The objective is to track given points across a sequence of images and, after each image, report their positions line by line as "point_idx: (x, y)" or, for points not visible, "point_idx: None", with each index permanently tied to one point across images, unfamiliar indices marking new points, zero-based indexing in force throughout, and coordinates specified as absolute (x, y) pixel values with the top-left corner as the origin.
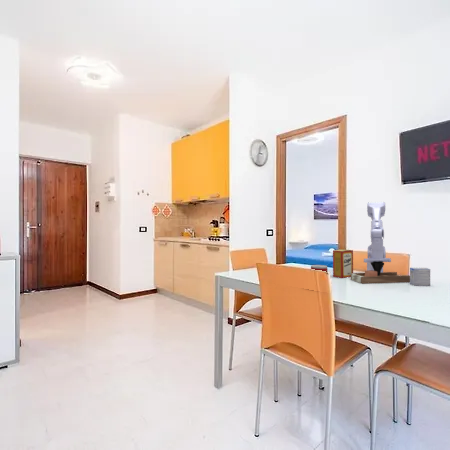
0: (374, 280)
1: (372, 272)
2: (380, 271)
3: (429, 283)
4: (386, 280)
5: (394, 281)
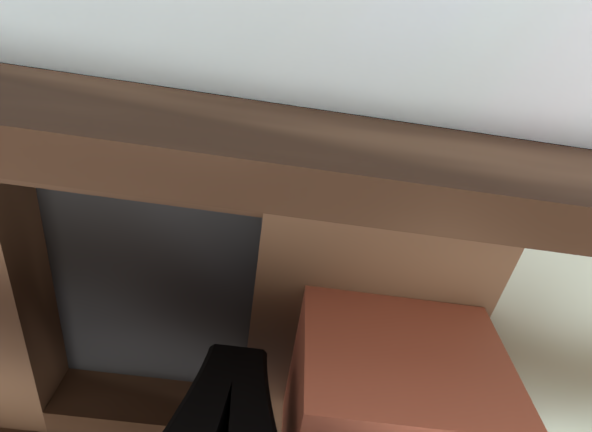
0: (508, 159)
1: (453, 408)
2: (177, 419)
3: None
4: (200, 112)
5: (2, 73)
